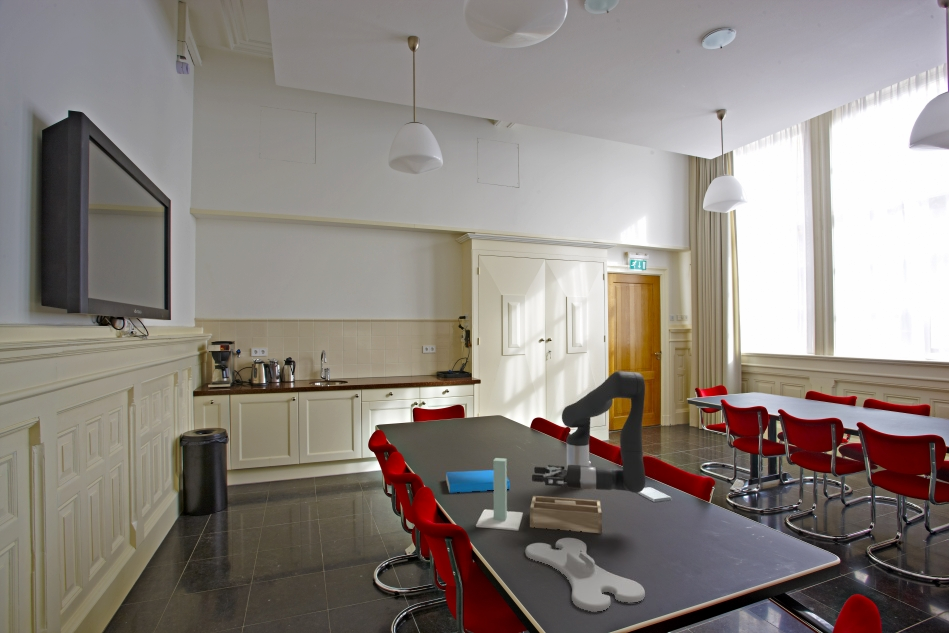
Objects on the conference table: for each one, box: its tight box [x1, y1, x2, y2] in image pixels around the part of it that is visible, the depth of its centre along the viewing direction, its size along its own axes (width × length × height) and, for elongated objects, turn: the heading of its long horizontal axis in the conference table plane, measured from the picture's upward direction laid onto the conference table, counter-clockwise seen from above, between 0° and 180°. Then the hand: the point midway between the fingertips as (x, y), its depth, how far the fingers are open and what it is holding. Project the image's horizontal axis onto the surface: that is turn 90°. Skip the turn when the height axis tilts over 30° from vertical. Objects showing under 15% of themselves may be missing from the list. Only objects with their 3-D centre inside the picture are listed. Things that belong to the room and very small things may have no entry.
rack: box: [529, 495, 603, 534], centre depth 157 cm, size 12×23×6 cm, turn 78°
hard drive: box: [637, 486, 673, 503], centre depth 184 cm, size 2×8×12 cm
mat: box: [475, 509, 524, 531], centre depth 159 cm, size 14×14×1 cm
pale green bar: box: [492, 457, 508, 521], centre depth 160 cm, size 4×4×20 cm
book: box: [445, 469, 511, 494], centre depth 196 cm, size 17×4×25 cm
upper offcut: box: [555, 500, 576, 505], centre depth 160 cm, size 4×7×3 cm, turn 82°
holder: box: [524, 537, 646, 613], centre depth 125 cm, size 19×34×5 cm, turn 20°
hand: (533, 473), depth 159 cm, fingers open, 8 cm apart
